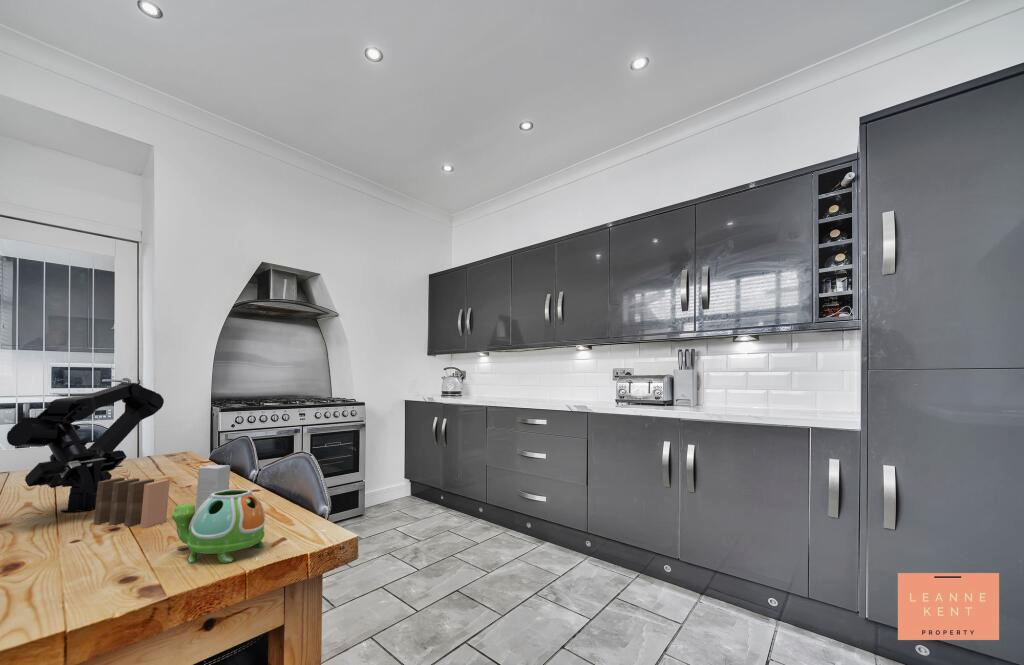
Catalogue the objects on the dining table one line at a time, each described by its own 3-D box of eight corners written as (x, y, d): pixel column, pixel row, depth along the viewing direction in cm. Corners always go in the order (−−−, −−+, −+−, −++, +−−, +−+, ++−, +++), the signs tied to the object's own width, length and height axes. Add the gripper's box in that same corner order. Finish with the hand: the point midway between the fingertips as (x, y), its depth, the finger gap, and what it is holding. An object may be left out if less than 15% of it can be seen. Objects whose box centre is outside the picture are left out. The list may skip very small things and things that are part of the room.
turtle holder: (196, 540, 95) (201, 484, 96) (276, 542, 94) (280, 485, 95) (145, 564, 82) (151, 499, 84) (237, 566, 81) (241, 501, 83)
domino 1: (93, 524, 105) (98, 481, 106) (115, 518, 110) (119, 477, 111) (99, 524, 105) (103, 482, 106) (120, 518, 110) (124, 477, 111)
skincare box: (228, 510, 116) (231, 465, 118) (215, 515, 112) (219, 468, 113) (207, 510, 117) (210, 464, 118) (194, 514, 113) (197, 467, 114)
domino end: (140, 527, 103) (144, 484, 104) (160, 521, 108) (164, 479, 109) (145, 528, 103) (150, 484, 104) (166, 521, 107) (169, 479, 109)
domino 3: (124, 526, 104) (128, 483, 105) (145, 520, 108) (149, 478, 110) (130, 526, 103) (134, 483, 104) (150, 520, 108) (154, 479, 109)
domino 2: (108, 525, 104) (113, 482, 105) (130, 519, 109) (134, 478, 110) (114, 525, 104) (118, 482, 105) (135, 519, 109) (139, 478, 110)
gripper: (87, 458, 121) (113, 503, 118) (-3, 473, 103) (26, 527, 100) (113, 432, 120) (141, 476, 117) (28, 442, 102) (58, 495, 99)
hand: (95, 493), depth 108 cm, fingers closed
